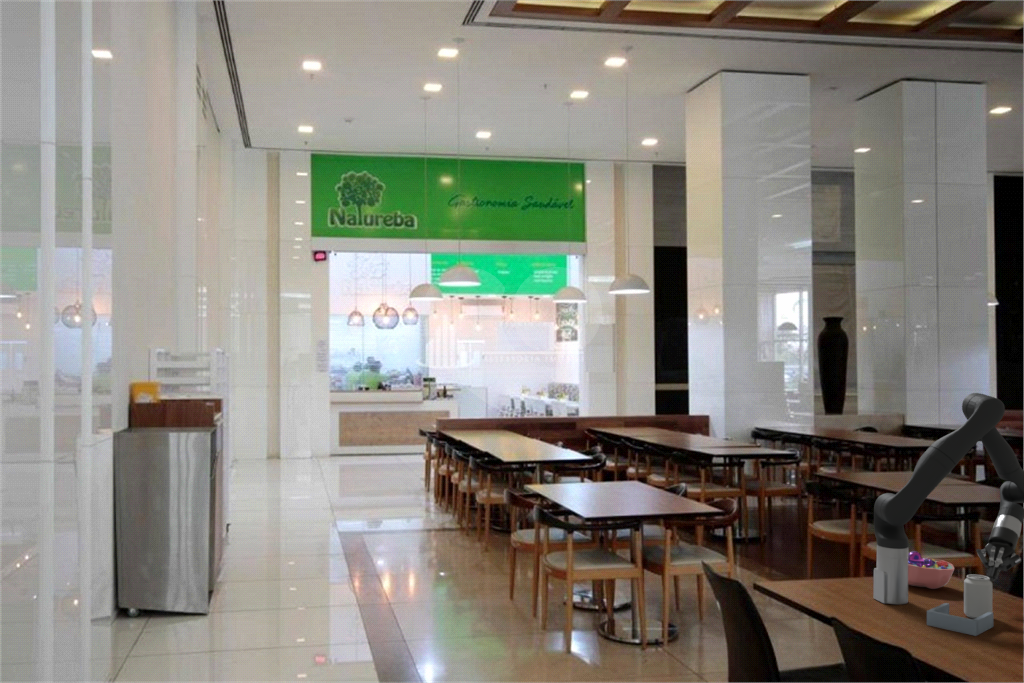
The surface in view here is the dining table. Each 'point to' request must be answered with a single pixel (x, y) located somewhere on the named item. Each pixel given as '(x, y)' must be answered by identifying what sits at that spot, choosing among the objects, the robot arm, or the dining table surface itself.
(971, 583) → the can
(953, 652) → the dining table surface
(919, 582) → the cell model
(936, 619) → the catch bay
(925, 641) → the dining table surface
